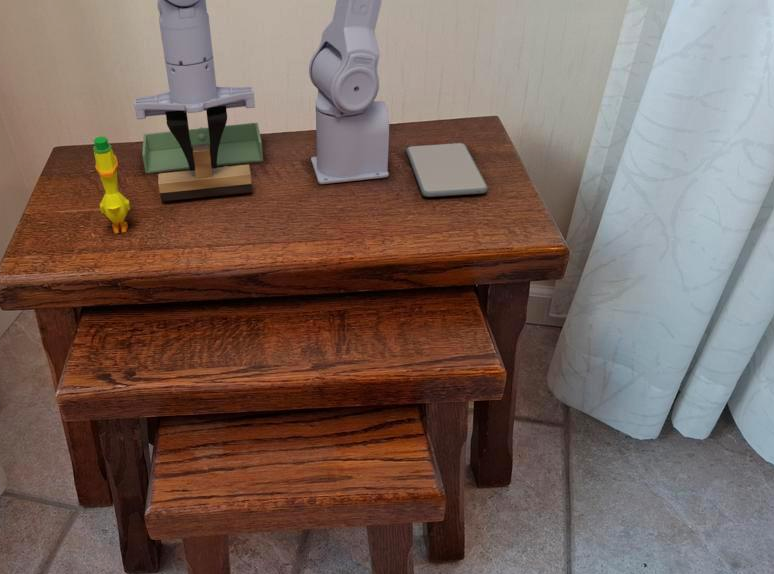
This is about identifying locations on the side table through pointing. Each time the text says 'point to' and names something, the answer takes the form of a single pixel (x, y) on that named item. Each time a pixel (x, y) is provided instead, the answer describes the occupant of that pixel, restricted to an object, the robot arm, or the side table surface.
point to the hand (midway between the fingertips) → (203, 166)
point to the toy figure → (110, 185)
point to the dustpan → (226, 152)
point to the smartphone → (445, 170)
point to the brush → (204, 179)
